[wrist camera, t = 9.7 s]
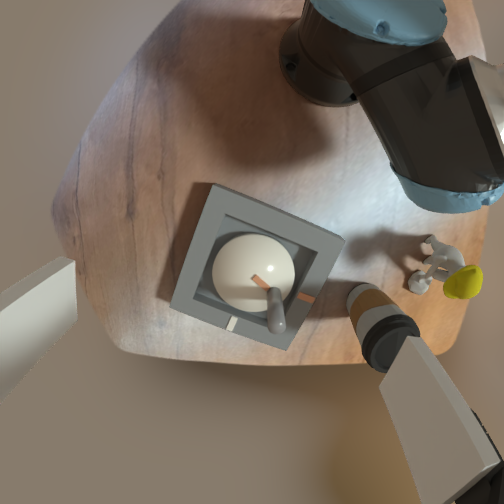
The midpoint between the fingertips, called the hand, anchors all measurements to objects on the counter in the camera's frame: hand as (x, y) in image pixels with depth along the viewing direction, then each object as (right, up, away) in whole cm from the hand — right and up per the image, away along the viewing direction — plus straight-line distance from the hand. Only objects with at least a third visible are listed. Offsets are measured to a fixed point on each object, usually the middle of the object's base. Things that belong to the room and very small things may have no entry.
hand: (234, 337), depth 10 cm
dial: (+1, 0, +34) cm, 34 cm away
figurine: (+29, +1, +34) cm, 45 cm away
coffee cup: (+19, -5, +37) cm, 42 cm away
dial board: (+1, 0, +35) cm, 35 cm away
